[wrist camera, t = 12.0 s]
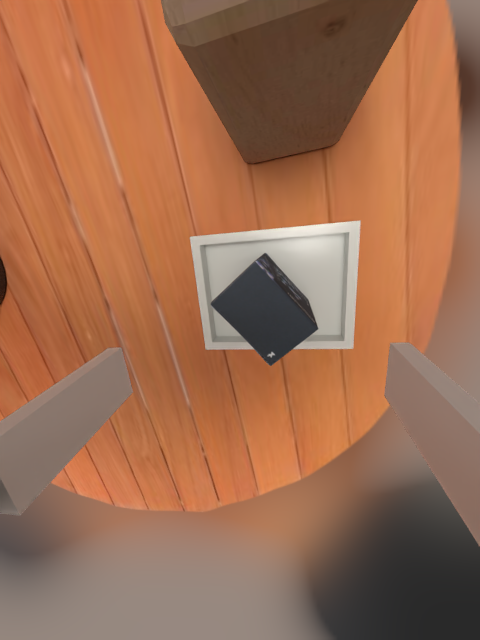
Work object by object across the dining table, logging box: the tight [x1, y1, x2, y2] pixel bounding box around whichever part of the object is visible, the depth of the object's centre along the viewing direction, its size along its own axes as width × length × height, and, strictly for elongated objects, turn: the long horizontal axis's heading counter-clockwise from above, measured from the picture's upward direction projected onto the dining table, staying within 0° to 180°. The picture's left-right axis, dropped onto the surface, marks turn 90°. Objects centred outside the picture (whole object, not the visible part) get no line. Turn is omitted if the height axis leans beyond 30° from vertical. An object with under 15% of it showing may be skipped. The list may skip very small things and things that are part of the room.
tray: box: [190, 221, 361, 350], centre depth 30 cm, size 18×14×3 cm
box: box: [211, 253, 318, 366], centre depth 26 cm, size 8×6×11 cm
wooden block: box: [161, 0, 418, 164], centre depth 16 cm, size 10×10×20 cm
